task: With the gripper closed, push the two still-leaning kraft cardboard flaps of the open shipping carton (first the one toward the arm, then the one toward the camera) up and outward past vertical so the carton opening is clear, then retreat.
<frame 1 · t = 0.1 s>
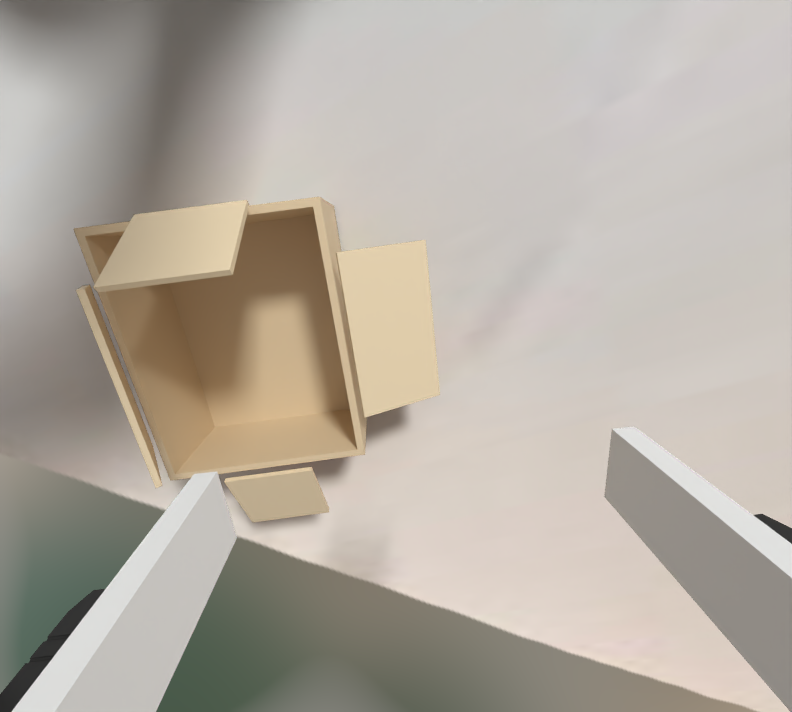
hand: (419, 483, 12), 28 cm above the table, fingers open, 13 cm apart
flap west: (179, 242, 24), point 13 cm above the table, hinge at 55.0°
carton: (267, 328, 38), on the table
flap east: (280, 496, 36), point 8 cm above the table, hinge at 200.0°
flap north: (393, 331, 31), point 8 cm above the table, hinge at 200.0°
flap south: (121, 383, 26), point 13 cm above the table, hinge at 55.0°
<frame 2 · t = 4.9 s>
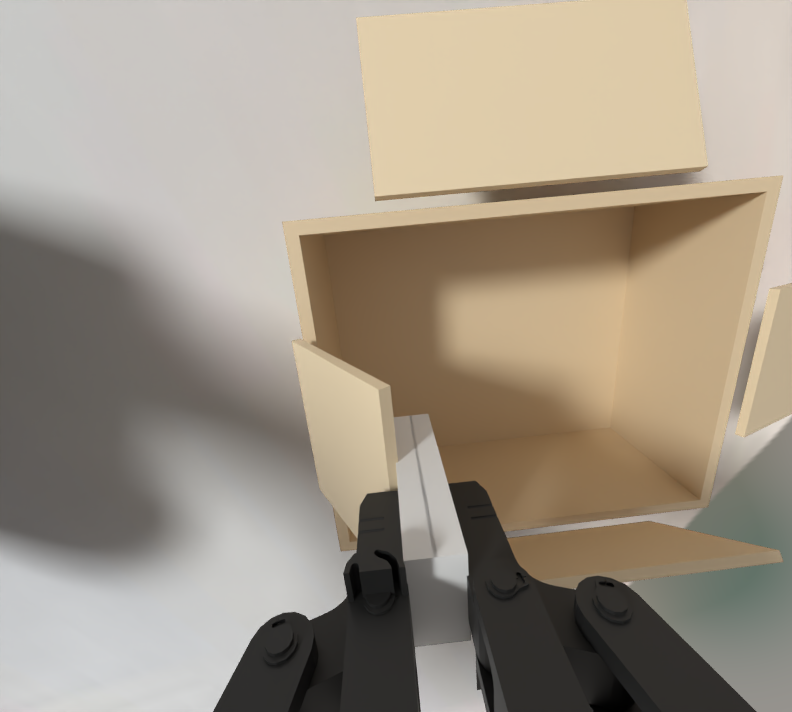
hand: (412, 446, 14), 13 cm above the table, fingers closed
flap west: (344, 452, 15), point 13 cm above the table, hinge at 59.7°, touching gripper
carton: (481, 340, 27), on the table
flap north: (531, 96, 15), point 8 cm above the table, hinge at 200.0°
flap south: (559, 554, 17), point 13 cm above the table, hinge at 55.0°
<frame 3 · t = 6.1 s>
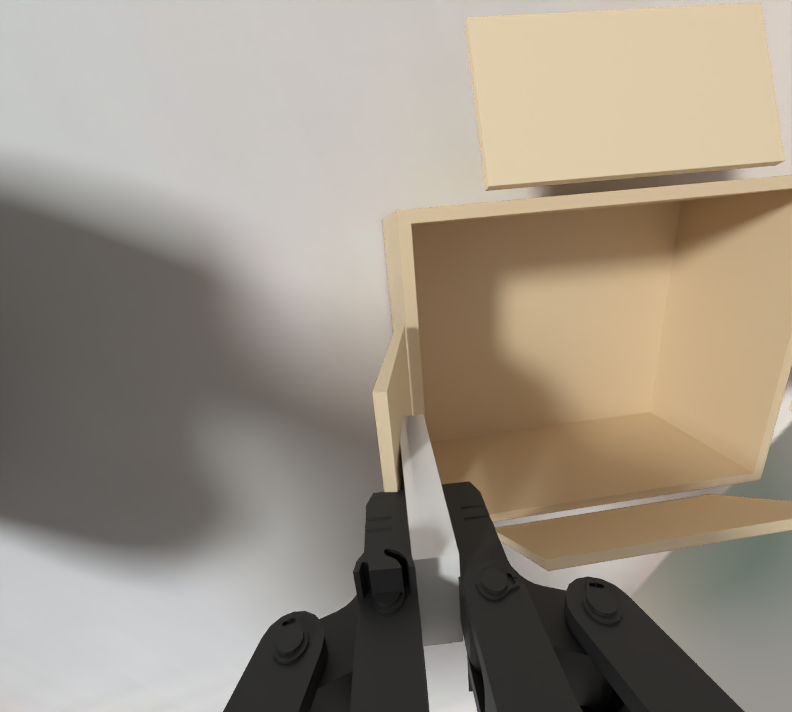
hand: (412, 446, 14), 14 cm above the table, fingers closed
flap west: (401, 443, 15), point 13 cm above the table, hinge at 101.2°, touching gripper
carton: (534, 330, 28), on the table
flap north: (626, 94, 16), point 8 cm above the table, hinge at 200.0°
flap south: (647, 523, 18), point 13 cm above the table, hinge at 55.0°
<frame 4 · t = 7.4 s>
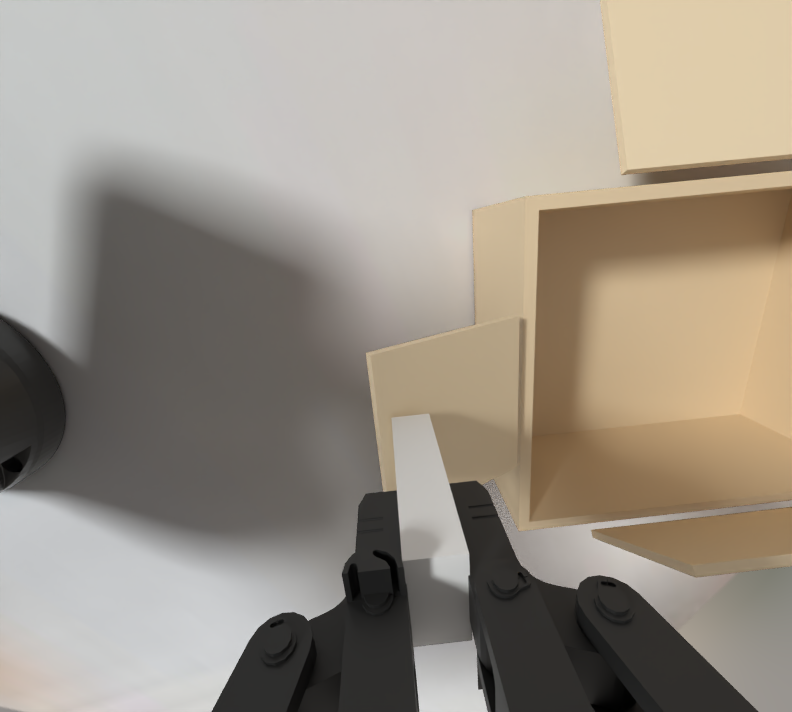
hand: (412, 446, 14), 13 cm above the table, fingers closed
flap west: (454, 419, 16), point 11 cm above the table, hinge at 153.0°, touching gripper
carton: (621, 325, 27), on the table
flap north: (777, 68, 15), point 8 cm above the table, hinge at 200.0°
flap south: (777, 531, 17), point 13 cm above the table, hinge at 55.0°
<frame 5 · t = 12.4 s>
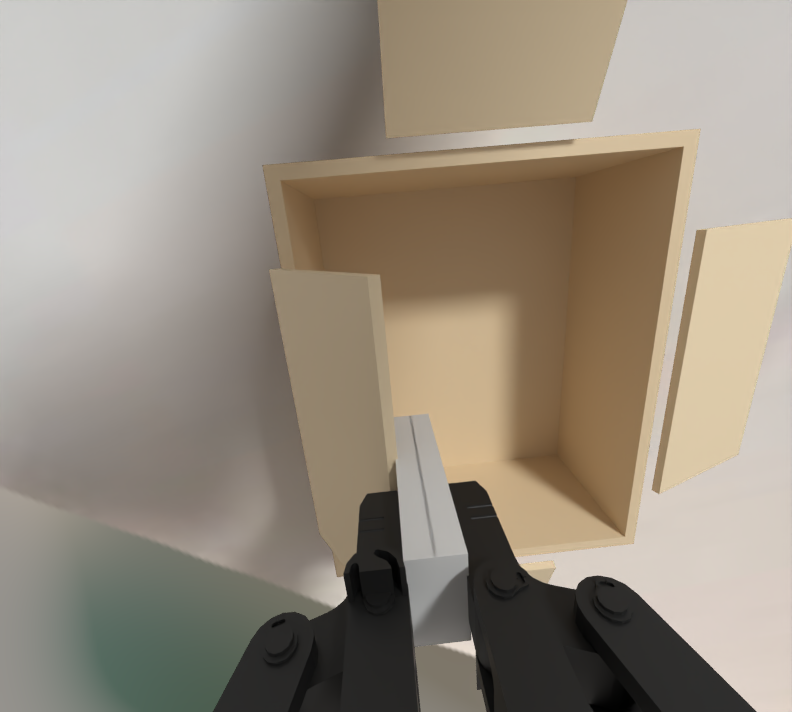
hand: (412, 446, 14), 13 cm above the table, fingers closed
carton: (450, 342, 27), on the table
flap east: (482, 594, 24), point 8 cm above the table, hinge at 200.0°
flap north: (721, 361, 20), point 8 cm above the table, hinge at 200.0°
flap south: (339, 448, 15), point 13 cm above the table, hinge at 55.7°, touching gripper
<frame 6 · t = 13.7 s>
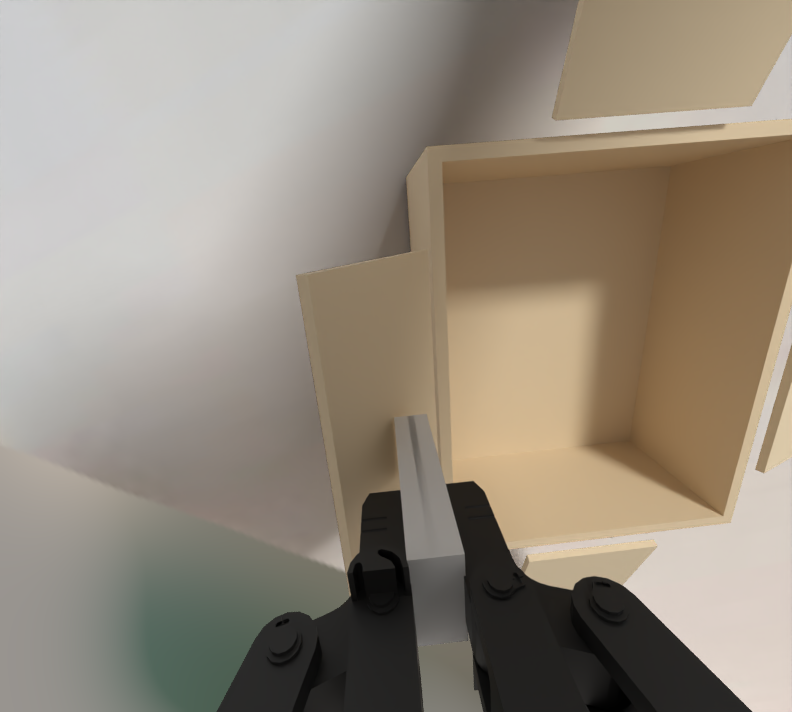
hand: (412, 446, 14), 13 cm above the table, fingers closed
carton: (535, 329, 27), on the table
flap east: (576, 574, 25), point 8 cm above the table, hinge at 200.0°
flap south: (394, 436, 15), point 13 cm above the table, hinge at 123.2°, touching gripper
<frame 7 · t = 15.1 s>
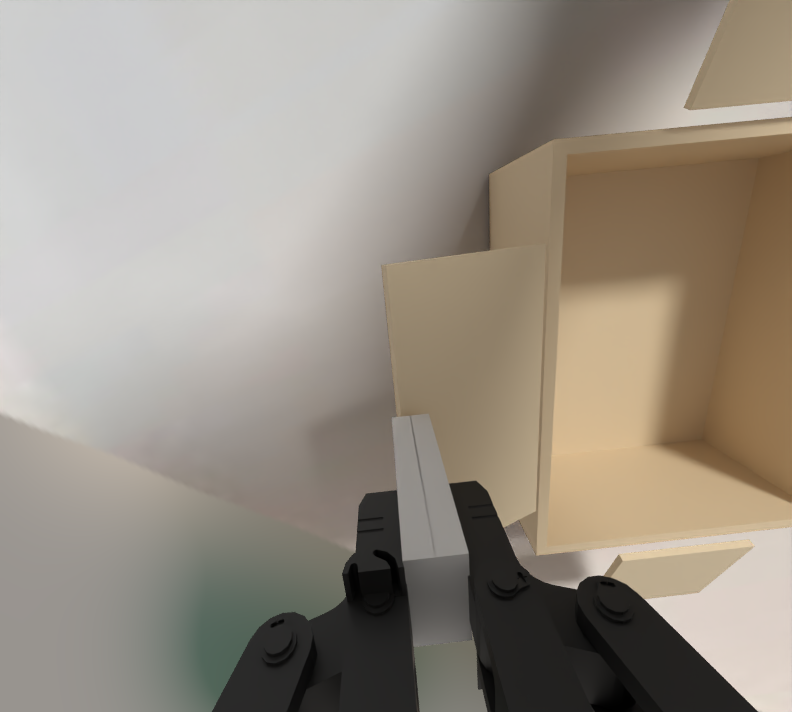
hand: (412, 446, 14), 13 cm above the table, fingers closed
carton: (610, 326, 27), on the table
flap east: (662, 575, 24), point 8 cm above the table, hinge at 200.0°
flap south: (475, 414, 16), point 11 cm above the table, hinge at 156.2°, touching gripper
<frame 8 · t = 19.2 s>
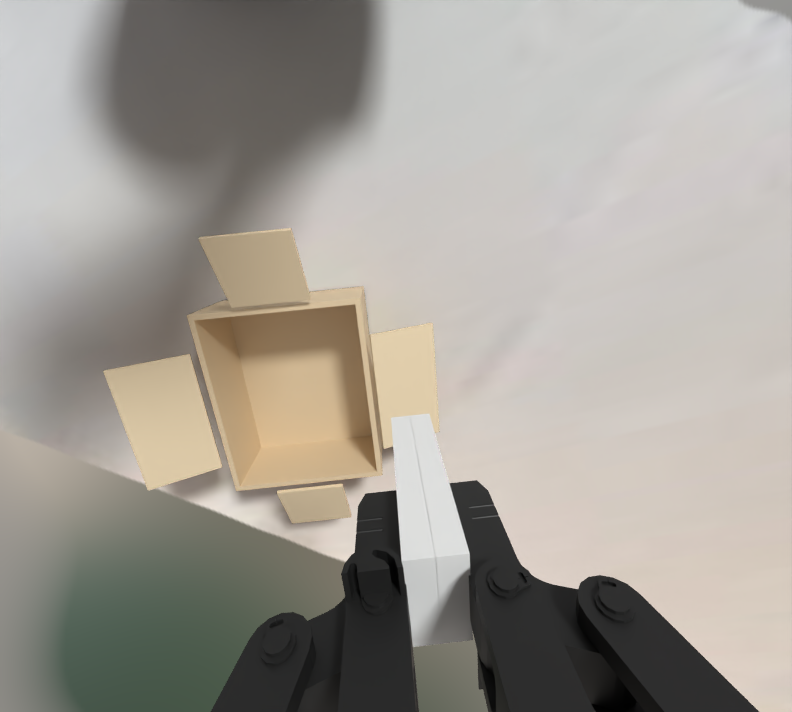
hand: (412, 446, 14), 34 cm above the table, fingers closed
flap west: (259, 270, 34), point 11 cm above the table, hinge at 153.0°
carton: (307, 373, 50), on the table
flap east: (316, 504, 47), point 8 cm above the table, hinge at 200.0°
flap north: (407, 387, 42), point 8 cm above the table, hinge at 200.0°
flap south: (168, 423, 39), point 11 cm above the table, hinge at 156.6°
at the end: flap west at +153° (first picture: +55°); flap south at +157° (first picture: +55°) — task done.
